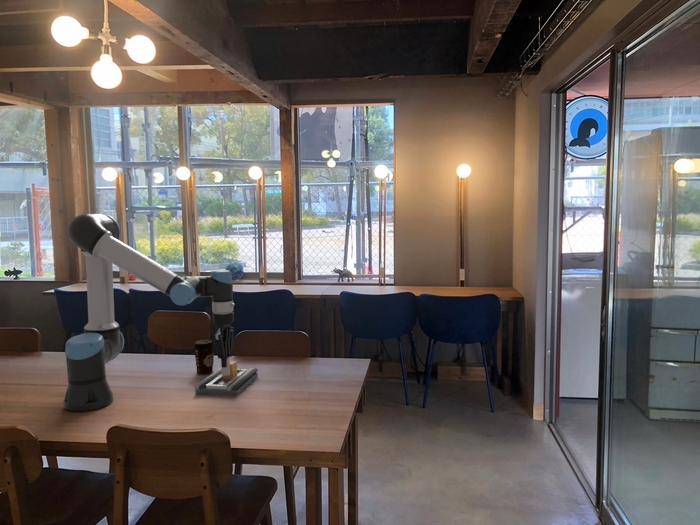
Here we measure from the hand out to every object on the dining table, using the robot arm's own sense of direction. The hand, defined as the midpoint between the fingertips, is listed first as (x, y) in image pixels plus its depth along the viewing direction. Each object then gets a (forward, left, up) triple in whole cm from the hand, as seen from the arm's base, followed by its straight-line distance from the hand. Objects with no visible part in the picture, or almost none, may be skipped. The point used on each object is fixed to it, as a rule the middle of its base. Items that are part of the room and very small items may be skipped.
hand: (226, 374), depth 198 cm
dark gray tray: (+2, 0, -3) cm, 3 cm away
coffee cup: (+14, +15, -5) cm, 21 cm away
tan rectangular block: (+4, 0, -2) cm, 5 cm away
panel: (+2, 0, -5) cm, 5 cm away
